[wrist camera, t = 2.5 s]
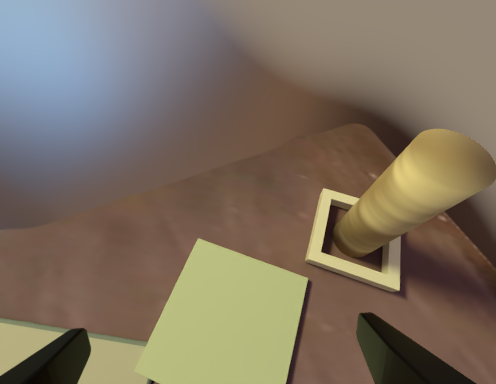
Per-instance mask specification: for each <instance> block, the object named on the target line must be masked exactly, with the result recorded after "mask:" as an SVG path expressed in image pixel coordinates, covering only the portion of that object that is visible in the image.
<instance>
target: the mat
mask: <svg viewBox="0 0 496 384" xmlns="http://www.w3.org/2000/svg"><path fill="white" fill-rule="evenodd" d="M307 281H308V278H306V277H303V276H300V275H298V274H295V273H292V272H289V271H287V270H284V269H281V268H278V267H276V266H273V265H270V264H267V263H265V262H262V261H259V260H256V259H254V258H251V257H248V256H245V255H243V254H240V253H237V252H234V251H231V250H229V249H226V248H223V247H220V246H218V245H215V244H212V243H209V242H207V241H204V240H201V239H198V240H197V242H196V244H195V246H194V248H193V250H192V252H191V254H190V256H189V258H188V260H187V262H186V264H185V267H184V269H183V271H182V273H181V275H180V277H179V279H178V281H177V283H176V285H175V287H174V289H173V291H172V293H171V296H170V298H169V300H168V302H167V304H166V306H165V308H164V310H163V312H162V314H161V316H160V318H159V320H158V322H157V325H156V327H155V329H154V331H153V333H152V335H151V337H150V339H149V341H148V343H147V345H146V347H145V349H144V352H143V354H142V356H141V358H140V360H139V362H138V364H137V366H136V368H135V370H134V371H135V372H137V373H139V374H141V375H143V376H145V377H147V378H149V379H151V380H153V381H155V382H157V383H159V384H286V380H287V376H288V371H289V366H290V361H291V357H292V352H293V347H294V343H295V338H296V333H297V328H298V324H299V319H300V314H301V310H302V305H303V300H304V296H305V291H306V286H307Z"/></svg>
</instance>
